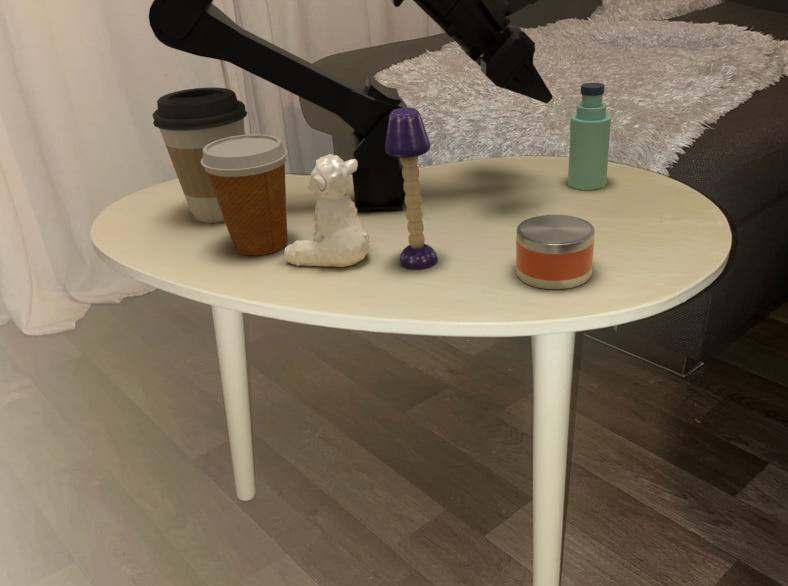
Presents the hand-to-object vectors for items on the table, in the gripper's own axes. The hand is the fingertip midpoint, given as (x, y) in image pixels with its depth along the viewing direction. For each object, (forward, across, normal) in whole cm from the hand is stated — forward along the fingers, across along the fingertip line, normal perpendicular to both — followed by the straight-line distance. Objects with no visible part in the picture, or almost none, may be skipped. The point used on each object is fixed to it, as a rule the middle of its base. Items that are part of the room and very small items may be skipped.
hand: (540, 91), depth 96 cm
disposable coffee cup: (-17, -10, +35) cm, 40 cm away
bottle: (+14, 0, +4) cm, 14 cm away
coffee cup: (-21, +2, +39) cm, 45 cm away
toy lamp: (-4, -20, +23) cm, 30 cm away
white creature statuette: (-10, -16, +29) cm, 34 cm away
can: (+6, -26, +12) cm, 29 cm away
